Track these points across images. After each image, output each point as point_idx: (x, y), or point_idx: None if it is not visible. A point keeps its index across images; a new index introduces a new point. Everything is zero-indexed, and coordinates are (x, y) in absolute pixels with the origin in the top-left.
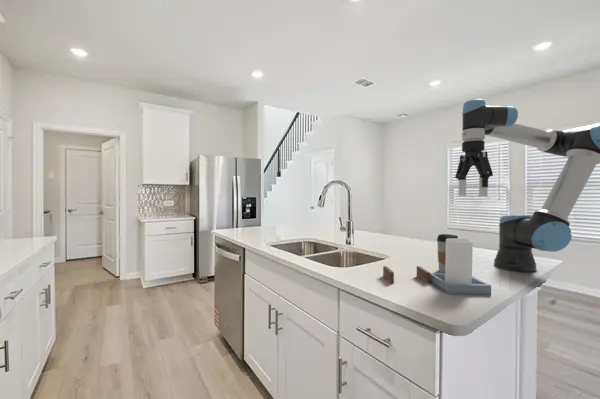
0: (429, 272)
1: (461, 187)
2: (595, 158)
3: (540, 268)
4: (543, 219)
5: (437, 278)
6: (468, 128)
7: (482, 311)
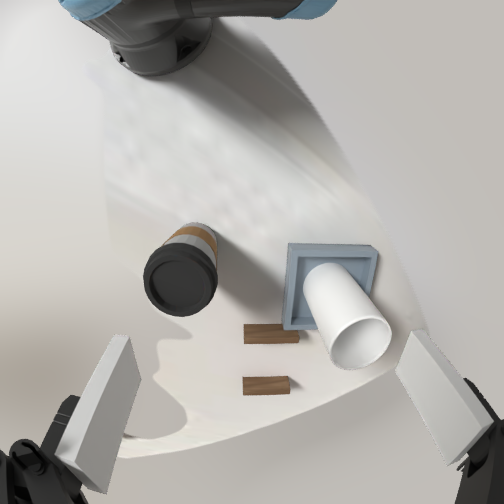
0: (298, 338)
1: (119, 422)
2: None
3: None
4: None
5: None
6: None
7: (416, 300)
